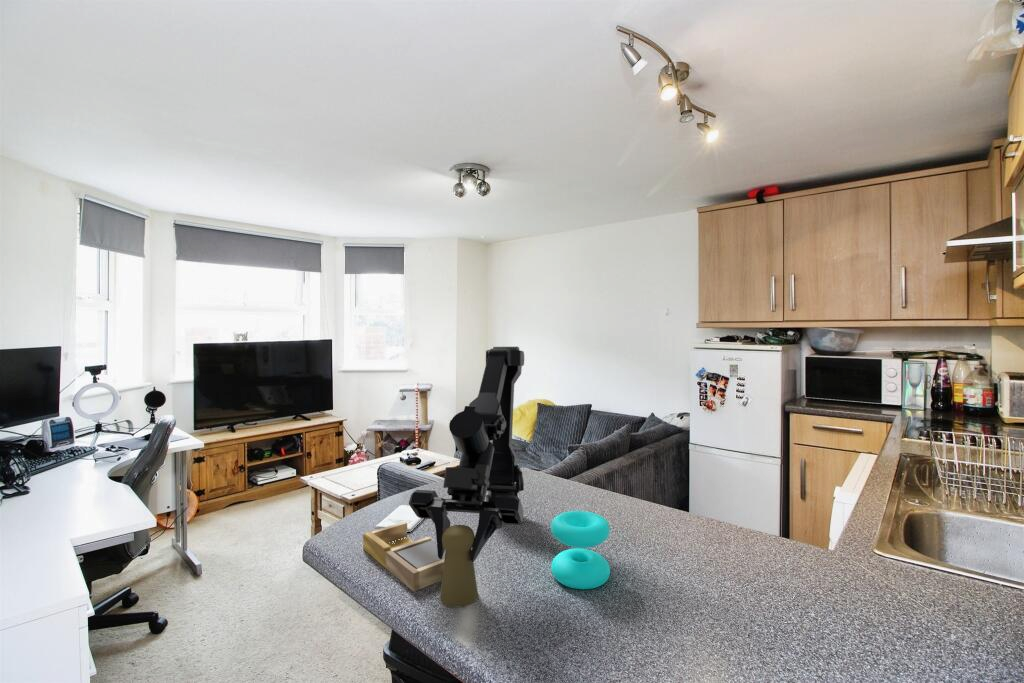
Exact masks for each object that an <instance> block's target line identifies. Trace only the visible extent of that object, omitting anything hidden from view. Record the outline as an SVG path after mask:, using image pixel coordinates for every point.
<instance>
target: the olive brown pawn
mask: <svg viewBox="0 0 1024 683" xmlns="http://www.w3.org/2000/svg"><path fill="white" fill-rule="evenodd" d="M474 539H475V532H474V530H473V529H472V528H471V527H470V526H468V525H465V524H454V525H450V527H448V528H447V529H446V530H445V531H444V533H443V535H442V544H443V547H444V549H445V559H444V567H443V576H442V580H441V586H440V595H439V599H440V602H441V603H442V604H443V605H444V606H445V605H446V606H448V607H450V608H451V607H452V608H462V607H463V608H464V607H467V606H470V605H472V604H473V603H475V602H476V601H477V599H478V597H479V594H478V586H477V578H476V572H475V566H474V564H475V563H474V562H472V561H471V559H470V558H471V551H472V546H473V543H474Z"/></svg>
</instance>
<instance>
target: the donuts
mask: <svg viewBox="0 0 1024 683" xmlns="http://www.w3.org/2000/svg"><path fill="white" fill-rule="evenodd" d="M550 529H551V530H550V531H551V533H552V535H553V537H554V538H555V539H556V540H557V541H559V542H560V543H562V544H564V545H566V546H569V547H573V548H568V549H566V550H563V551H560V552H559V553H558V554H557V555H556V556H554V558H553V559H552V562H551V567H550V568H551V569H550V570H551V572H552V575H553V578H555V580H556V581H557V582H559V583H560V584H562V585H563V586H566V587H568V588H571V589H577V590H592V589H595V588H598V587H601V586H602V585H604V584H605V583H606V582H608V580H609V578H610V575H611V567H610V564H609V562H608V560H607V559H606V558H605V557H604V556H603V555H602V554H600V553H598V552H596V551H594V550H591V549H588V548H592V547H597V546H600V545H602V544H603V543H604V542H605V541H606V540H607V539H608V538H609V536H610V533H611V528H610V525H609V522H608V521H607V520H606V518H605V517H603V516H601V515H599V514H597V513H593V512H591V511H586V510H570V511H564V512H562V513H560V514H558V515H556V516H555V517H553V519H552V521H551V524H550Z"/></svg>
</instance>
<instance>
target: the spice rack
mask: <svg viewBox="0 0 1024 683" xmlns="http://www.w3.org/2000/svg"><path fill="white" fill-rule="evenodd" d="M404 537H406V538H407V537H408V533H407V523H406V522H402V523H398V524H395V525H392V526H388V527H385V528H382V529H378V530H375V529H374V530H372V531H367V532H364V533H362V539H363V540H362V549H363V551H365V552H366V553H367V554H368V555H370V556H371V557H372V558H373V559H374V560H376V561H377V562H378V563H379V564H380V565H382V567H384V568H385V569H386V570H388V571H389V573H391V574H393V575H394V576H395V578H397V579H398V580H399V581H400V582H402V583H403V584H404V585H405V586H406V587H408V588H409V589H410V590H411V591H412V592H417V591H419V590H422V589H424V588H427V587H429V586H432V585H435V584H436V583H437V584H438V582H442V576H443V567H444V559H445V551H444V554H443V557H442V559H439V557H438V551H437V543H435V542H433V541H432V537H430V536H425V537H423V538H420V539H416V540H414V541H413V540H412V539H411V538H409V537H408V538H407V539H406V538H405V539H404ZM401 538H403V539H402V540H401ZM398 539H400V540H398ZM395 540H396V542H395ZM392 541H394V543H395V544H394V543H393V542H392ZM389 542H390V543H389ZM392 543H393V544H392Z"/></svg>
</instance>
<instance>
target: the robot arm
mask: <svg viewBox="0 0 1024 683" xmlns="http://www.w3.org/2000/svg"><path fill="white" fill-rule="evenodd" d="M524 352H525V351H523V350H521V349H520V347H519V346H493V347H492V348H490V349H487V350H485V368H484V369H483V370H484V371H483V375H482V380H481V383H480V386H479V391H478V394H477V397H476V398H474V399H473V400H472V401H471V402H469V404H468V405H465V406H464V409H463V410H461V411H460V412H458V413H457V414H455V415H454V416H453V417H452V419H450V420H449V424H448V425H449V426H448V428H449V431H450V433H451V436H452V439H453V441H454V444H455V446H456V449H457V450H458V452H459V453H461V455H460V456H461V457H460V460H459V462H458V463H459V464H458V465H456V466H455V467H454V466H453V467H452V466H451V467H450V466H449V467H448V466H447V467H445V472H444V477H443V478H444V479H443V480H444V481H443V486H442V487H443V488H444V489H446V490H447V491H446V492H447V494H448V496H451V498H450V499H449V498H443V497H439V495H438V494H437V491H436V490H432V489H431V490H429V489H428V490H427V489H415V491H413V492H412V493H411V494H410V497H409V501H408V505H410V507H411V508H412V510H413V511H414V513H415V514H416V516H417V517H419V518H425V519H426V520H427V519H428V520H430V521H432V523H434V528H435V536H436V545H437V551H438V557H439V559H442V557H443V554H444V551H445V549H444V547H443V544H442V535H443V533H444V531H445V530H446V529H447V528H448V527H450V526H451V521H450V518H449V517H448V514H449V512H451V513H452V512H456V513H468V514H470V513H471V514H479V515H478V523H477V524H478V525H477V528H476V532H475V534H474V536H475V539H474V543H473V546H472V548H471V550H472V551H471V558H470V559H471V561H472V562H473V563H474V562H475V561H476V560H477V558H478V557H479V555H480V553H481V551H482V550H483V548H484V547H485V545H486V543H487V542H488V540H489V539H490V538H491V536H493V534H494V533H495V531H496V530H498V529H499V530H501V529H502V528H503V526H504V525H510V526H521V525H523V520H524V508H523V504H522V502H521V499H520V498H519V497H518V494H519V493H520V492H521V491H524V490H525V482H524V476H523V475H524V474H523V472H522V470H521V466H520V465H519V458H518V456H517V454H516V452H515V450H514V448H513V441H512V440H513V423H514V422H513V420H514V399H515V398H514V397H515V396H514V395H515V384H516V382H517V381H518V379H519V378H520V376H521V375H522V368H523V366H524V365H525V353H524ZM490 440H492V442H491V441H490ZM487 491H488V492H487ZM425 519H424V520H425ZM503 524H504V525H503Z"/></svg>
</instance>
